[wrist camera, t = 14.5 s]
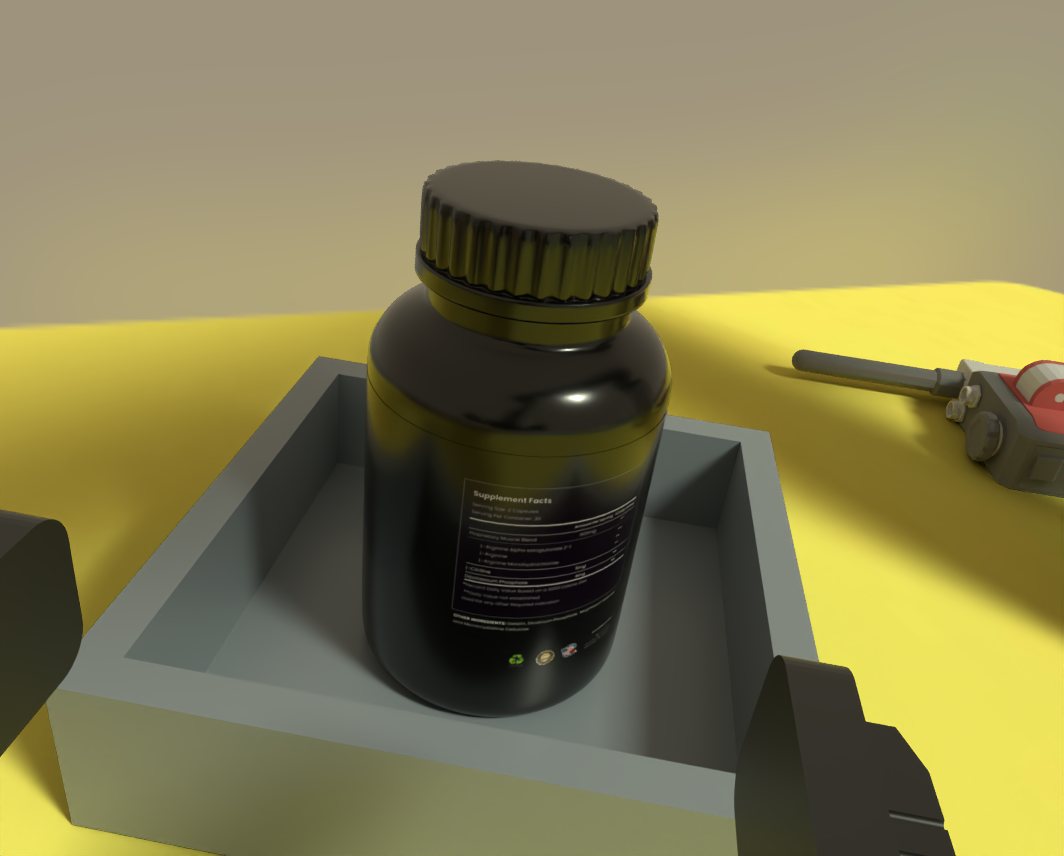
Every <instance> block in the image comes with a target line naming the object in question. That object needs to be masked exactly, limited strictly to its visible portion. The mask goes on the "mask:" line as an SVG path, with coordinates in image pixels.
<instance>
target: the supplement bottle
mask: <svg viewBox="0 0 1064 856" xmlns="http://www.w3.org/2000/svg"><path fill="white" fill-rule="evenodd" d="M657 226H658V212H657V206H656V205H654V204H653V203H652V201H651V199H650V198H648V197H646V196H644V195H643V194H642V192H640V191H638V190H635V189H633V188H632V187H630V186H629V185H626V184H623V183H620V182H618V181H616V180H614V179H611V178H607V177H603V176H600V175H598V174H595V173H590V172H585V171H582V170H579V169H573V168H567V167H562V166H558V165H549V164H542V163H534V162H521V161H499V160H497V161H478V162H471V163H461V164H459V165H452V166H447V167H446V168H445V169H440V170H437V171H436V172H435V173H434V174H432V175H429V176H428V179H427V181H425V182H424V185H423V189H422V201H421V221H420V238H419V240H418V242H417V244H416V255H415V256H416V257H415V271H416V273H417V276H418V277H419V279H420V280H421V281H422V282H423V283H421V284H419V285H417V286H415V287H413V288H411V289H410V290H408V291H407V292H405V293H404V294H403V295H401V296H400V297H399V298H397V299H396V300H395V301H394V302H393V303H392V304H391V306H389V307H388V309H387V310H386V311H385V312H384V314H383V315H382V317H381V318H380V320H379V321H378V323H377V325H376V326H375V328H374V331H373V333H372V336H371V338H370V342H369V348H368V358H367V373H366V416H365V461H364V506H363V551H362V618H363V626H364V632H365V635H366V638H367V641H368V644H369V646H370V648H371V650H372V652H373V654H374V656H375V657H376V659H377V660H378V662H379V663H380V665H381V666H382V667H383V668H384V670H385V671H386V672H387V673H388V674H389V675H390V676H391V677H392V678H393V679H394V680H395V681H396V682H397V683H399V684H400V685H401V686H402V687H404V688H405V689H406V690H408V691H409V692H411V693H412V694H414V695H416V696H417V697H419V698H421V699H423V700H425V701H427V702H429V703H431V704H433V705H436V706H438V707H441V708H444V709H447V710H450V711H454V712H458V713H462V714H467V715H473V716H483V717H510V716H519V715H525V714H530V713H534V712H538V711H541V710H544V709H547V708H550V707H553V706H555V705H557V704H559V703H562V702H563V701H565V700H567V699H569V698H570V697H572V696H574V695H575V694H576V693H578V692H579V691H581V690H582V689H583V688H584V687H586V686H587V685H588V684H589V683H590V682H591V681H592V680H593V679H594V677H595V676H596V675H597V674H598V673H599V671H600V670H601V668H602V667H603V665H604V664H605V662H606V660H607V658H608V656H609V654H610V651H611V648H612V645H613V642H614V639H615V635H616V631H617V627H618V623H619V619H620V615H621V611H622V606H623V602H624V598H625V593H626V589H627V585H628V580H629V576H630V572H631V567H632V563H633V558H634V554H635V550H636V545H637V541H638V537H639V532H640V528H641V524H642V519H643V515H644V511H645V506H646V502H647V497H648V493H649V489H650V484H651V480H652V476H653V471H654V467H655V463H656V458H657V454H658V450H659V445H660V441H661V436H662V432H663V428H664V423H665V419H666V414H667V410H668V409H667V408H668V404H669V399H670V393H671V386H672V371H671V365H670V362H669V358H668V355H667V352H666V349H665V347H664V345H663V343H662V341H661V339H660V337H659V335H658V334H657V332H656V331H655V329H654V328H653V327H652V325H651V324H650V323H649V322H648V321H647V320H646V319H645V318H644V317H643V316H642V315H641V314H640V313H639V312H638V311H637V309H638V308H639V307H641V306H642V305H643V304H644V302H645V301H646V299H647V296H648V293H649V289H650V285H651V280H652V270H651V267H650V262H651V257H652V252H653V247H654V242H655V237H656V232H657Z"/></svg>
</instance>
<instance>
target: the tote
mask: <svg viewBox="0 0 1064 856" xmlns="http://www.w3.org/2000/svg"><path fill="white" fill-rule="evenodd" d="M366 373H367V364H362V363H356V362H350V361H344V360H338V359H332V358H326V357H320V356H319V357H318V358H317V359H316V360H315V361H314V363H313V364H312V365H311V366H310V367H309V369H308V370H307V371H306V372H305V373H304V375H303V376H302V377H301V378H300V379H299V381H298V382H297V383H296V384H295V385H294V387H293V388H292V389H291V390H290V391H289V392H288V394H287V395H286V396H285V397H284V398H283V400H282V401H281V402H280V403H279V404H278V406H277V407H276V408H275V409H274V410H273V412H272V413H271V414H270V415H269V416H268V417H267V419H266V420H265V421H264V422H263V423H262V425H261V426H260V427H259V428H258V429H257V431H256V432H255V433H254V434H253V435H252V437H251V438H250V439H249V440H248V441H247V442H246V444H245V445H244V446H243V447H242V448H241V450H240V451H239V452H238V453H237V454H236V456H235V457H234V458H233V459H232V460H231V462H230V463H229V464H228V465H227V466H226V468H225V469H224V470H223V471H222V472H221V473H220V475H219V476H218V477H217V478H216V479H215V481H214V482H213V483H212V484H211V485H210V487H209V488H208V489H207V490H206V491H205V493H204V494H203V495H202V496H201V497H200V498H199V500H198V501H197V502H196V503H195V504H194V506H193V507H192V508H191V509H190V510H189V512H188V513H187V514H186V515H185V516H184V518H183V519H182V520H181V521H180V522H179V523H178V525H177V526H176V527H175V528H174V529H173V531H172V532H171V533H170V534H169V535H168V537H167V538H166V539H165V540H164V541H163V543H162V544H161V545H160V546H159V547H158V549H157V550H156V551H155V552H154V553H153V554H152V556H151V557H150V558H149V559H148V560H147V562H146V563H145V564H144V565H143V566H142V568H141V569H140V570H139V571H138V572H137V574H136V575H135V576H134V577H133V578H132V579H131V581H130V582H129V583H128V584H127V585H126V587H125V588H124V589H123V590H122V591H121V593H120V594H119V595H118V596H117V597H116V599H115V600H114V601H113V602H112V603H111V604H110V606H109V607H108V608H107V609H106V610H105V612H104V613H103V614H102V615H101V616H100V618H99V619H98V620H97V621H96V622H95V624H94V625H93V626H92V627H91V628H90V630H89V631H88V632H87V633H86V634H85V635H84V637H83V638H82V640H81V645H80V648H79V652H78V655H77V657H76V659H75V662H74V664H73V666H72V668H71V670H70V671H69V673H68V674H67V676H66V677H65V679H64V680H63V681H62V682H61V684H60V685H59V686H58V687H57V688H56V690H55V691H54V692H53V693H52V695H51V696H50V697H49V698H48V699H47V701H46V705H47V709H48V714H49V719H50V724H51V728H52V733H53V738H54V742H55V747H56V752H57V756H58V761H59V766H60V770H61V775H62V780H63V784H64V789H65V794H66V798H67V803H68V808H69V812H70V817H71V822H72V825H77V826H82V827H87V828H92V829H97V830H102V831H106V832H111V833H116V834H121V835H126V836H131V837H136V838H141V839H146V840H151V841H156V842H161V843H166V844H171V845H176V846H181V847H186V848H191V849H196V850H201V851H206V852H211V853H216V854H221V855H226V856H738V851H737V839H736V826H735V814H734V788H735V777H736V770H737V764H738V759H739V755H740V751H741V748H742V745H743V742H744V739H745V736H746V733H747V730H748V727H749V724H750V721H751V718H752V716H753V713H754V710H755V707H756V704H757V701H758V698H759V695H760V692H761V689H762V687H763V684H764V681H765V678H766V675H767V672H768V669H769V667H770V664H771V662H772V660H773V659H774V657H775V656H777V655H783V656H788V657H794V658H799V659H805V660H810V661H815V662H819V660H818V655H817V651H816V646H815V641H814V637H813V632H812V627H811V623H810V618H809V614H808V609H807V604H806V600H805V595H804V590H803V586H802V581H801V577H800V572H799V567H798V563H797V558H796V553H795V549H794V544H793V540H792V535H791V530H790V526H789V521H788V516H787V512H786V507H785V503H784V498H783V493H782V489H781V484H780V479H779V475H778V470H777V466H776V461H775V456H774V452H773V447H772V443H771V438H770V433H769V432H767V431H761V430H755V429H749V428H743V427H737V426H731V425H725V424H719V423H713V422H707V421H701V420H696V419H690V418H684V417H678V416H672V415H666V419H665V423H664V428H663V432H662V436H661V441H660V445H659V450H658V454H657V458H656V463H655V467H654V471H653V476H652V480H651V484H650V489H649V493H648V497H647V502H646V506H645V511H644V515H643V519H642V524H641V528H640V532H639V537H638V541H637V545H636V550H635V554H634V558H633V563H632V567H631V572H630V576H629V580H628V585H627V589H626V593H625V598H624V602H623V606H622V611H621V615H620V619H619V623H618V627H617V631H616V635H615V639H614V642H613V645H612V648H611V651H610V654H609V656H608V658H607V660H606V662H605V664H604V665H603V667H602V668H601V670H600V671H599V673H598V674H597V675H596V676H595V677H594V679H593V680H592V681H591V682H590V683H589V684H588V685H587V686H586V687H584V688H583V689H582V690H581V691H579V692H578V693H576V694H575V695H574V696H572V697H570V698H569V699H567V700H565V701H563V702H562V703H559V704H557V705H555V706H553V707H550V708H547V709H544V710H541V711H538V712H534V713H530V714H525V715H519V716H510V717H483V716H473V715H467V714H462V713H458V712H454V711H450V710H447V709H444V708H441V707H438V706H436V705H433V704H431V703H429V702H427V701H425V700H423V699H421V698H419V697H417V696H416V695H414V694H412V693H411V692H409V691H408V690H406V689H405V688H404V687H402V686H401V685H400V684H399V683H397V682H396V681H395V680H394V679H393V678H392V677H391V676H390V675H389V674H388V673H387V672H386V671H385V670H384V668H383V667H382V666H381V665H380V663H379V662H378V660H377V659H376V657H375V656H374V654H373V652H372V650H371V648H370V646H369V644H368V641H367V638H366V635H365V632H364V626H363V618H362V551H363V506H364V461H365V416H366Z"/></svg>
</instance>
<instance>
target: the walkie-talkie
mask: <svg viewBox="0 0 1064 856" xmlns="http://www.w3.org/2000/svg"><path fill="white" fill-rule="evenodd" d="M792 364H793V366H794V367H795V368H796V369H797V370H800V371H805V372H811V373H817V374H824V375H830V376H836V377H842V378H848V379H854V380H861V381H867V382H874V383H880V384H886V385H893V386H899V387H905V388H912V389H918V390H924V391H929V392H930V394H932V395H935V396H942V397H948V398H951V399H952V401H950V402H949V403H948V405H947V407H946V417H947V418H951V419H954V421H955V422H958V423H959V424H960V426H961V427H962V429H963V430H964V432H965V434H966V451H967V454H968V456H969V457H970V458H972V460H977V461H983V462H984V464H985V465H986V467H987V468H988V470H989V471H990V473H991V475H992V476H993V478H994V479H995V481H996V483H998V484H1000V485H1002V486H1004V487H1007V488H1009V489H1013V490H1019V491H1025V492H1031V493H1037V494H1043V495H1049V496H1056V497H1062V498H1064V363H1062V362H1056V361H1050V360H1040V361H1036V362H1033V363H1031V364H1029V365H1027V366H1025V367H1024V368H1023V369H1022V370H1020V369H1014V368H1008V367H1001V366H995V365H989V364H984V363H981V362H978V361H972V360H966V359H963V360H961V361H960V364H959V366H958V369H957V371H953V370H947V369H941V368H937V369H935V370H929V369H922V368H916V367H910V366H904V365H897V364H891V363H885V362H878V361H872V360H866V359H859V358H853V357H847V356H840V355H834V354H828V353H821V352H815V351H809V350H799V351H797V352H796V353H795V354H794V355H793V357H792Z"/></svg>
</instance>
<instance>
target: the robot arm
mask: <svg viewBox="0 0 1064 856" xmlns="http://www.w3.org/2000/svg"><path fill="white" fill-rule="evenodd" d="M82 633H83V622H82V615H81V609H80V603H79V597H78V591H77V586H76V580H75V574H74V568H73V562H72V556H71V550H70V544H69V539H68V535H67V531H66V529H65V527H64V526H63V525H62V523H60V522H59V521H57V520H54V519H48V518H43V517H37V516H32V515H26V514H21V513H16V512H10V511H5V510H0V757H1V755H2V754H3V753H4V752H5V751H6V749H7V748H8V747H9V746H10V744H11V743H12V742H13V741H14V740H15V738H16V737H17V736H18V735H19V733H20V732H21V731H22V730H23V729H24V727H25V726H26V725H27V724H28V723H29V721H30V720H31V719H32V718H33V716H34V715H35V714H36V713H37V712H38V710H39V709H40V708H41V707H42V705H43V704H44V703H45V702H46V701H47V699H48V698H49V697H50V696H51V695H52V693H53V692H54V691H55V690H56V688H57V687H58V686H59V685H60V684H61V682H62V681H63V680H64V679H65V677H66V676H67V674H68V673H69V671H70V670H71V668H72V666H73V664H74V662H75V659H76V657H77V655H78V652H79V648H80V645H81V640H82ZM734 814H735V826H736V839H737V851H738V856H956V855H955V852H954V849H953V845H952V842H951V839H950V836H949V833H948V830H944V817H943V814H942V811H941V808H940V805H939V802H938V799H937V796H936V792H935V789H934V786H933V783H932V780H931V777H930V774H929V771H928V770H927V769H926V767H925V766H924V765H923V763H922V762H921V761H920V759H919V758H918V757H917V755H916V754H915V753H914V751H913V750H912V749H911V747H910V746H909V745H908V743H907V742H906V741H905V739H904V738H903V737H902V735H901V734H900V733H899V731H898V730H897V729H896V727H892V726H886V725H881V724H876V723H870V722H866V721H865V717H864V714H863V710H862V706H861V702H860V698H859V694H858V690H857V687H856V683H855V679H854V676H853V674H852V672H851V671H850V670H849V668H847V667H843V666H837V665H832V664H826V663H821V662H815V661H810V660H805V659H799V658H794V657H788V656H783V655H777V656H775V657H774V659H773V660H772V662H771V664H770V667H769V669H768V672H767V675H766V678H765V681H764V684H763V687H762V689H761V692H760V695H759V698H758V701H757V704H756V707H755V710H754V713H753V716H752V718H751V721H750V724H749V727H748V730H747V733H746V736H745V739H744V742H743V745H742V748H741V751H740V755H739V759H738V764H737V770H736V777H735V788H734Z"/></svg>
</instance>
